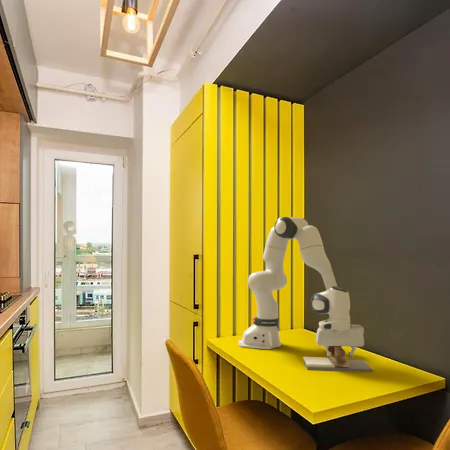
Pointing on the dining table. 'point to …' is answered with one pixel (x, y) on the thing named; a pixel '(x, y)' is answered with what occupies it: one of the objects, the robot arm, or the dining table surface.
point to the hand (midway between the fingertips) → (340, 356)
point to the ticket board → (327, 364)
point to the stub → (339, 358)
